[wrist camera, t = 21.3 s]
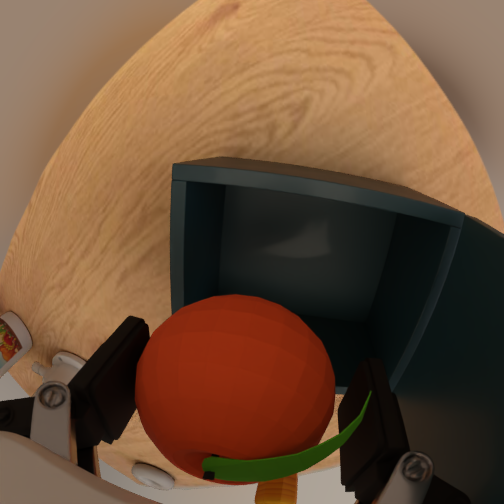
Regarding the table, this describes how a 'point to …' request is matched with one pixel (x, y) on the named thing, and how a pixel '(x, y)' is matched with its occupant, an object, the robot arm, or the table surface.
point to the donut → (152, 476)
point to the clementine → (238, 391)
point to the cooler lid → (462, 371)
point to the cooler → (314, 252)
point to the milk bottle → (12, 341)
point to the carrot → (277, 491)
